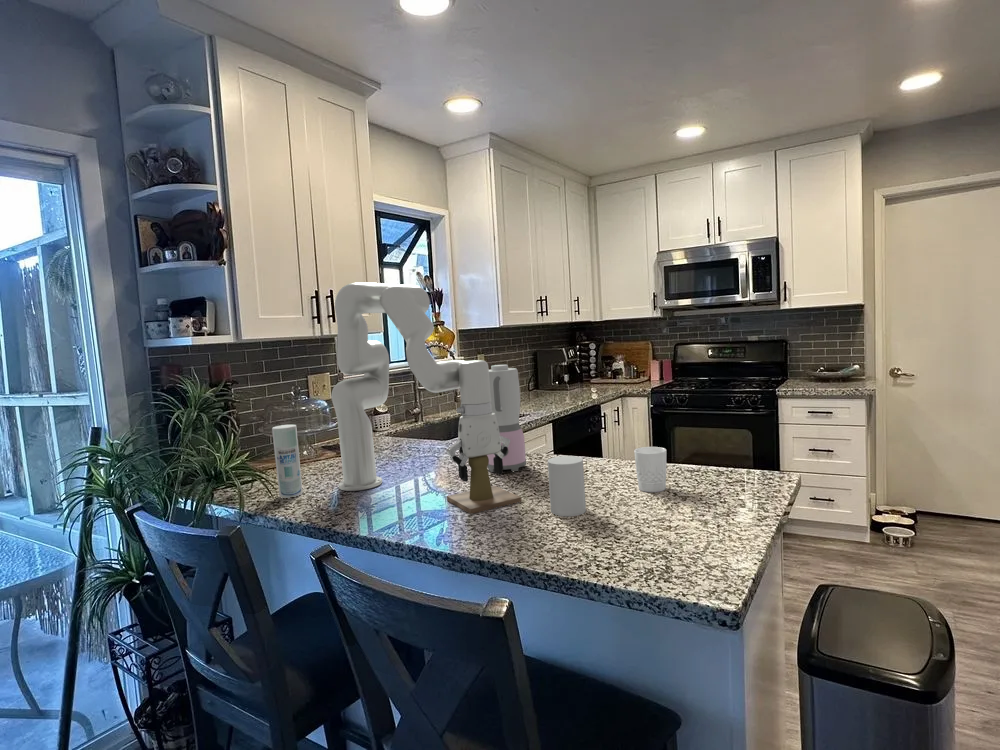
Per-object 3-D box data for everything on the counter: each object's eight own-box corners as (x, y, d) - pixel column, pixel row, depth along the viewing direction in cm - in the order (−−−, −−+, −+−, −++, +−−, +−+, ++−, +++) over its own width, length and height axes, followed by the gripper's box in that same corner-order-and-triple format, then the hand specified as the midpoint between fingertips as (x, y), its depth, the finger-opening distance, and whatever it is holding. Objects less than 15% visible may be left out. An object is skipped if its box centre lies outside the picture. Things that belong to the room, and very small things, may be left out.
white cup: (633, 492, 144) (631, 453, 143) (638, 483, 151) (636, 446, 150) (666, 493, 141) (664, 453, 140) (669, 484, 148) (667, 446, 147)
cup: (588, 505, 136) (585, 455, 135) (582, 517, 128) (579, 464, 127) (555, 504, 139) (552, 455, 138) (547, 515, 131) (543, 464, 130)
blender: (491, 464, 185) (483, 365, 182) (528, 462, 183) (521, 362, 180) (481, 477, 169) (473, 369, 167) (522, 476, 167) (514, 366, 165)
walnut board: (447, 500, 148) (446, 496, 148) (494, 489, 155) (494, 485, 155) (470, 514, 136) (470, 509, 136) (521, 501, 143) (521, 497, 143)
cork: (494, 492, 148) (491, 450, 147) (491, 500, 142) (488, 456, 141) (471, 493, 149) (468, 452, 148) (467, 501, 143) (464, 457, 142)
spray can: (302, 490, 169) (295, 423, 167) (304, 496, 163) (297, 426, 161) (278, 494, 166) (271, 426, 164) (279, 500, 160) (272, 429, 158)
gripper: (450, 416, 136) (456, 486, 138) (513, 406, 144) (518, 473, 146) (438, 413, 143) (444, 480, 144) (499, 404, 151) (504, 468, 152)
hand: (481, 476), depth 145 cm, fingers open, 9 cm apart
